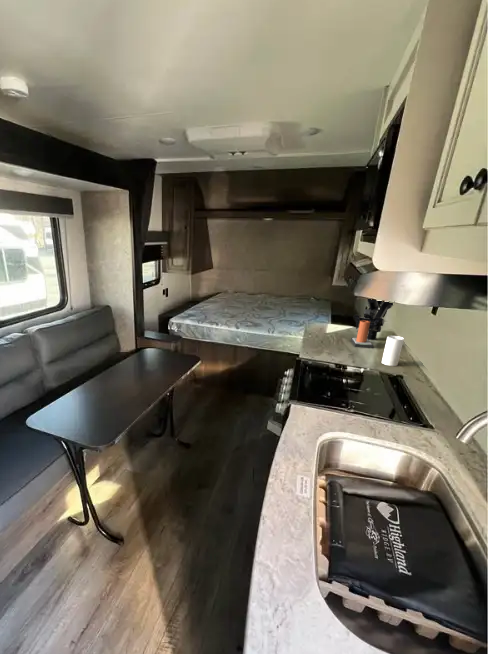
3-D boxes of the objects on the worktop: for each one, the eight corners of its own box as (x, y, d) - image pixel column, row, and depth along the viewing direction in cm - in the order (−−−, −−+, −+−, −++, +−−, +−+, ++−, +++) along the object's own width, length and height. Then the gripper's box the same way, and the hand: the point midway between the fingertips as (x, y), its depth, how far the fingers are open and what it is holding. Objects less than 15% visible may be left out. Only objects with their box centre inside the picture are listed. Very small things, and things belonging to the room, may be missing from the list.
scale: (350, 340, 238) (351, 337, 237) (367, 341, 235) (368, 338, 234) (354, 346, 224) (355, 343, 223) (372, 348, 222) (373, 344, 221)
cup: (399, 366, 190) (406, 339, 184) (384, 365, 192) (390, 339, 186) (394, 361, 198) (400, 335, 192) (379, 360, 199) (385, 335, 193)
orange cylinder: (356, 339, 232) (360, 320, 226) (366, 340, 229) (370, 321, 224) (355, 341, 227) (359, 321, 221) (366, 343, 224) (370, 322, 219)
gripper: (356, 302, 227) (347, 321, 224) (386, 306, 215) (377, 325, 211) (358, 312, 235) (350, 330, 232) (387, 316, 223) (378, 335, 219)
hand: (363, 330), depth 223 cm, fingers open, 9 cm apart
